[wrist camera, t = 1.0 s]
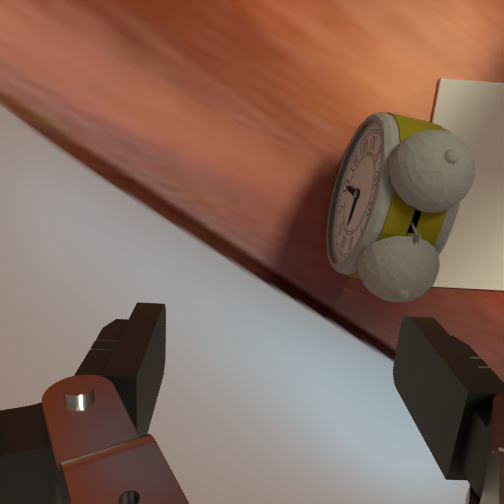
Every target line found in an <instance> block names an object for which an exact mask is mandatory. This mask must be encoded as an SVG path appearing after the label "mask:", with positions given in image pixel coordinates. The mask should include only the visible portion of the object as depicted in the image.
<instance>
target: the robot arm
mask: <svg viewBox="0 0 504 504" xmlns="http://www.w3.org/2000/svg"><path fill="white" fill-rule="evenodd" d="M165 333H166V309H165V304H157V303H137V304H136V306H135V308H134V310H133V312H132V314H131V316H130V318H129V320H124V319H116V320H114V321H113V322H111V323H110V324H108V325H107V326H105V327H104V328H103V329H102V330H101V332H100V334H99V335H98V337H97V339H96V341H95V342H94V344H93V345H92V347H91V350H89V352H88V354H87V355H86V357H85V359H84V361H83V362H82V364H81V365H80V367H79V369H78V370H77V372H76V374H75V375H74V376H72V377H68V378H65V379H63V380H60V381H59V382H56V383H55V384H53V385H52V386H51V387H49V388H48V389H47V390H46V392H45V393H44V395H43V397H42V402H41V403H38V404H35V405H30V406H25V407H19V408H13V409H7V410H1V411H0V504H189V503H188V501H187V499H186V497H185V495H184V493H183V491H182V489H181V487H180V485H179V484H178V482H177V480H176V478H175V476H174V474H173V472H172V471H171V469H170V467H169V465H168V463H167V461H166V459H165V457H164V456H163V454H162V452H161V450H160V448H159V446H158V444H157V442H156V441H155V439H154V438H153V436H151V435H150V434H147V433H148V429H149V426H150V422H151V418H152V415H153V411H154V408H155V404H156V400H157V397H158V393H159V390H160V385H161V382H162V378H163V374H164V367H165V342H166V337H165V336H166V334H165ZM393 377H394V383H395V386H396V389H397V391H398V392H399V394H400V396H401V398H402V400H403V401H404V403H405V405H406V407H407V409H408V411H409V413H410V414H411V416H412V418H413V420H414V422H415V424H416V425H417V427H418V429H419V431H420V433H421V435H422V436H423V438H424V440H425V442H426V444H427V446H428V447H429V449H430V451H431V452H432V455H433V456H434V458H435V460H436V462H437V464H438V466H439V467H440V469H441V471H442V473H443V475H444V477H445V479H446V480H468V482H469V483H470V486H469V489H468V493H467V497H466V503H465V504H504V382H503V381H502V380H501V379H500V378H499V377H498V376H497V375H496V374H495V373H494V372H493V371H492V370H491V369H490V368H488V365H487V364H486V363H485V362H484V361H483V360H482V359H479V356H478V355H477V354H476V353H475V351H474V350H473V349H472V348H471V347H470V346H469V345H467V344H466V343H464V342H462V341H461V340H459V339H457V338H456V337H454V336H450V335H449V334H448V333H447V332H446V330H445V329H444V328H443V327H442V326H441V325H440V324H439V323H438V322H437V320H436V319H435V318H430V317H410V316H406V317H405V318H404V319H403V321H402V324H401V329H400V334H399V339H398V345H397V350H396V355H395V360H394V367H393Z"/></svg>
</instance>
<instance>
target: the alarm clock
mask: <svg viewBox="0 0 504 504" xmlns="http://www.w3.org/2000/svg"><path fill="white" fill-rule="evenodd" d="M474 176H475V162H474V159H473V156H472V154H471V152H470V150H469V148H468V147H467V146H466V144H465V143H464V142H463V141H462V140H461V139H460V138H458V137H456V136H455V135H453V134H452V133H451V132H450V131H449V130H448V129H445V128H443V127H442V126H440V125H437V124H434V123H430V122H426V121H422V120H417V119H413V118H409V117H405V116H401V115H397V114H393V113H389V112H388V113H382V112H379V113H375V114H372V115H371V116H369V117H367V118H366V119H365V121H364V122H363V123H362V124H361V126H360V127H359V128H358V129H357V131H356V132H355V134H354V136H353V138H352V140H351V142H350V144H349V146H348V148H347V151H346V153H345V155H344V158H343V160H342V163H341V165H340V169H339V172H338V175H337V178H336V182H335V186H334V189H333V193H332V198H331V202H330V208H329V215H328V222H327V235H326V243H327V256H328V259H329V262H330V264H331V266H332V267H333V268H334V270H336V271H337V272H339V273H342V274H343V275H346V276H350V277H354V278H359V279H361V280H362V282H363V284H364V286H365V287H366V288H367V289H368V290H369V291H370V292H371V293H373V294H374V295H376V296H377V297H379V298H380V299H383V300H386V301H390V302H409V301H411V300H414V299H416V298H419V297H421V296H422V295H423V294H424V293H426V292H427V291H428V290H429V289H430V288H431V287H432V286H433V284H434V282H435V280H436V277H437V275H438V273H439V267H440V262H439V255H440V253H441V251H442V250H443V248H444V246H445V245H446V242H447V240H448V237H449V235H450V233H451V230H452V228H453V225H454V222H455V219H456V216H457V213H458V209H459V204H460V201H461V200H462V199H463V198H464V197H465V196H466V195H467V193H468V192H469V190H470V188H471V187H472V184H473V180H474Z"/></svg>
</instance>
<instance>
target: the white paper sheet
mask: <svg viewBox="0 0 504 504" xmlns="http://www.w3.org/2000/svg"><path fill="white" fill-rule="evenodd" d="M431 123H434V124H437V125H440V126H442V127H443V128H445V129H448V130H449V131H450V132H451V133H452V134H453V135H455V136H456V137H458V138H460V139H461V140H462V141H463V142H464V143H465V144H466V146H467V147H468V148H469V150H470V152H471V154H472V156H473V159H474V162H475V176H474V180H473V184H472V187H471V188H470V190H469V192H468V193H467V195H466V196H465V197H464V198H463V199H462V200H461V201H460V204H459V209H458V213H457V216H456V219H455V222H454V225H453V228H452V230H451V233H450V235H449V237H448V240H447V242H446V245H445V246H444V248H443V250H442V251H441V253H440V255H439V262H440V267H439V273H438V275H437V277H436V280H435V282H434V284H433V286H432V287H449V288H468V289H487V290H504V83H499V82H485V81H472V80H458V79H445V78H440V79H439V84H438V90H437V95H436V101H435V106H434V111H433V117H432V122H431Z"/></svg>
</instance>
